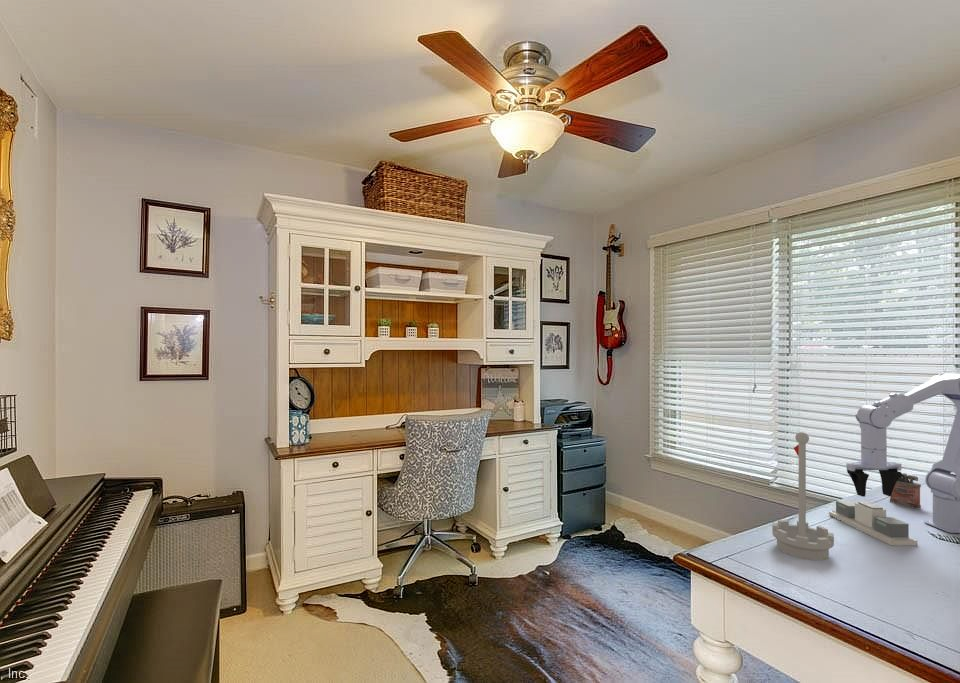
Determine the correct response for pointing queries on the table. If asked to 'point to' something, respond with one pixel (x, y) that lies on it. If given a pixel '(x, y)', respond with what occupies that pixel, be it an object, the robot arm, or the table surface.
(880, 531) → the board
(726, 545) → the table surface
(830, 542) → the flag stand
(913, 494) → the lighter
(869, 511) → the module block
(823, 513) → the table surface
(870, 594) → the table surface
